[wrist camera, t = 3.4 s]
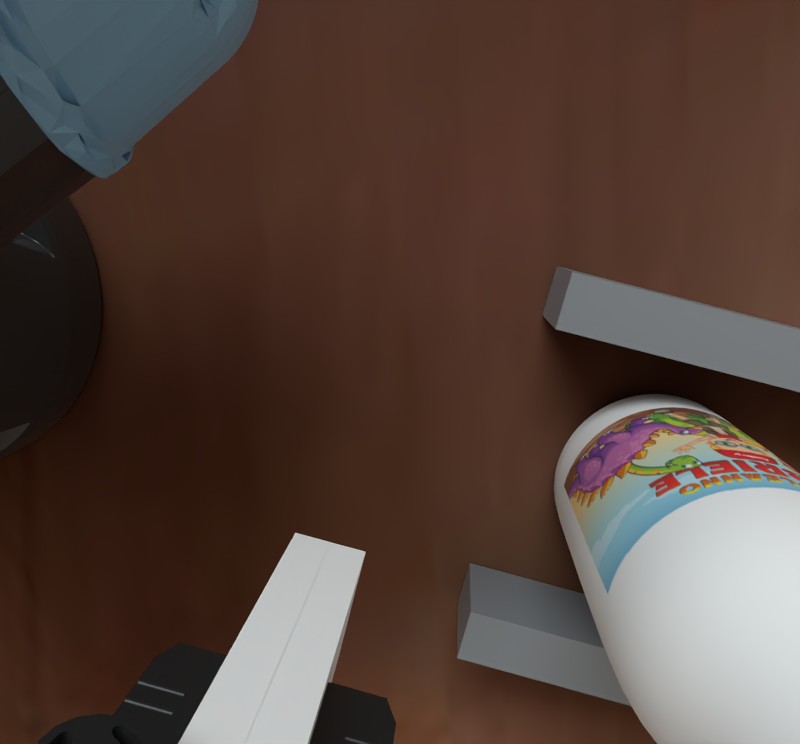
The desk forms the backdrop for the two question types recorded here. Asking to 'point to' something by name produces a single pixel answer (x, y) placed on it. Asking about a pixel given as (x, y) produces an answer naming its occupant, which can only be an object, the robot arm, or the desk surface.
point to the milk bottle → (688, 568)
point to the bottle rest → (565, 609)
